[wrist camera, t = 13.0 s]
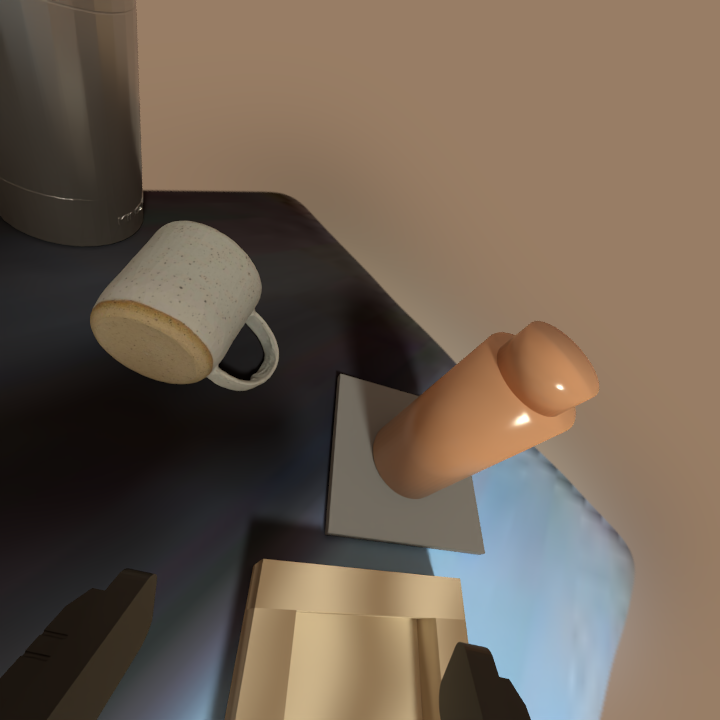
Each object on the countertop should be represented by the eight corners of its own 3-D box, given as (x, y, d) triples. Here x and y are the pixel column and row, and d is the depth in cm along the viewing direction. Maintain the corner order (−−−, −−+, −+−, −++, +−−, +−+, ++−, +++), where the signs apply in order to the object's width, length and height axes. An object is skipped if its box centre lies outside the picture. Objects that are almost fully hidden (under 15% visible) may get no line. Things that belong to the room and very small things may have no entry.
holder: (176, 972, 12) (180, 1033, 10) (253, 565, 19) (263, 558, 17) (465, 900, 16) (505, 935, 14) (436, 582, 23) (459, 578, 21)
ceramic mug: (86, 365, 21) (64, 274, 16) (155, 284, 27) (156, 195, 21) (252, 422, 24) (284, 362, 19) (285, 339, 29) (317, 272, 24)
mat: (324, 534, 22) (328, 532, 21) (337, 377, 29) (340, 373, 29) (479, 554, 26) (485, 553, 25) (455, 410, 33) (459, 407, 33)
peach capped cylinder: (415, 517, 24) (604, 440, 14) (357, 451, 25) (497, 335, 15) (457, 455, 29) (619, 366, 19) (407, 402, 30) (537, 289, 20)
